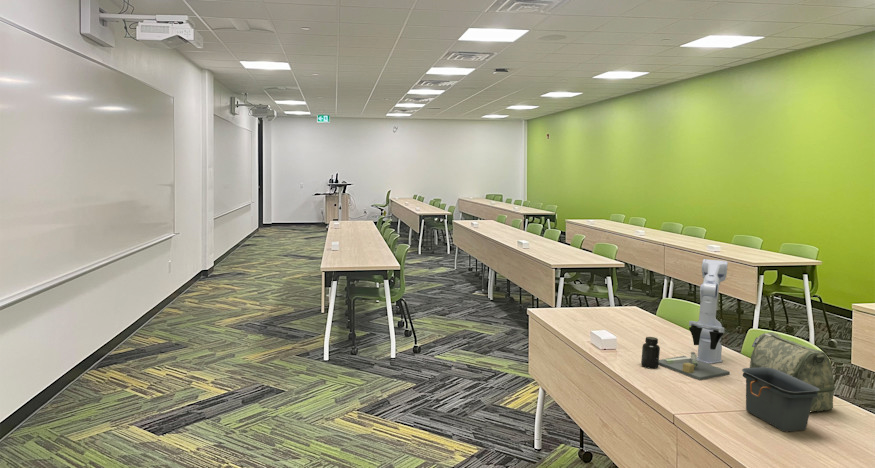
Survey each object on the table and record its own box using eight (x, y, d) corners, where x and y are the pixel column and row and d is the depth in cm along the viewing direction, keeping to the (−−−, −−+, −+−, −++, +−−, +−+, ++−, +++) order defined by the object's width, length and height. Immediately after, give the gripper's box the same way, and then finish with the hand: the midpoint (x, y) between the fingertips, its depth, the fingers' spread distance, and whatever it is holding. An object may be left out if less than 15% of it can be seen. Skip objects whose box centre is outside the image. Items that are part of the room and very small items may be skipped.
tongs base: (683, 358, 249) (684, 348, 248) (729, 374, 229) (730, 363, 229) (654, 363, 240) (655, 352, 240) (699, 380, 221) (700, 368, 221)
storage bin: (821, 434, 176) (825, 389, 174) (778, 437, 172) (783, 391, 171) (767, 407, 196) (770, 366, 195) (728, 409, 193) (732, 368, 191)
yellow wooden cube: (687, 369, 229) (688, 362, 229) (693, 372, 227) (694, 364, 226) (682, 370, 228) (683, 363, 228) (688, 373, 225) (689, 365, 225)
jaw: (690, 357, 241) (690, 353, 241) (695, 358, 241) (695, 354, 240) (692, 366, 229) (692, 362, 229) (697, 367, 228) (698, 363, 228)
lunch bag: (739, 387, 215) (743, 330, 213) (781, 385, 218) (786, 330, 216) (792, 415, 190) (798, 351, 188) (839, 413, 193) (846, 350, 191)
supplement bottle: (659, 369, 232) (662, 341, 231) (642, 368, 234) (644, 339, 233) (656, 364, 239) (658, 336, 238) (639, 362, 240) (641, 335, 239)
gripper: (685, 310, 231) (682, 343, 231) (717, 316, 218) (713, 351, 218) (696, 310, 234) (694, 343, 234) (728, 316, 221) (725, 351, 221)
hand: (704, 347), depth 226 cm, fingers open, 7 cm apart
